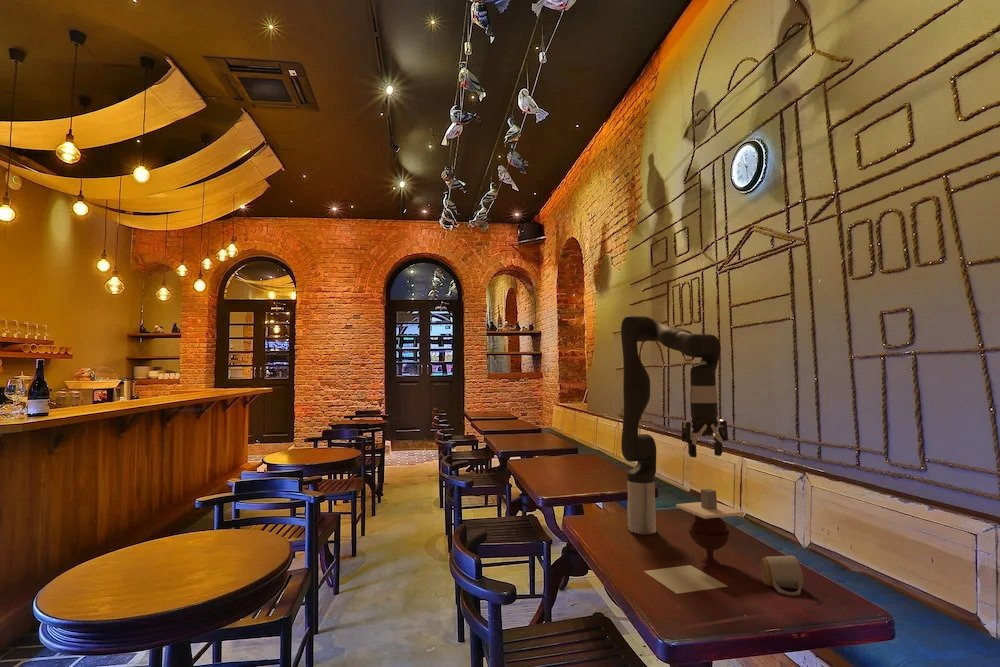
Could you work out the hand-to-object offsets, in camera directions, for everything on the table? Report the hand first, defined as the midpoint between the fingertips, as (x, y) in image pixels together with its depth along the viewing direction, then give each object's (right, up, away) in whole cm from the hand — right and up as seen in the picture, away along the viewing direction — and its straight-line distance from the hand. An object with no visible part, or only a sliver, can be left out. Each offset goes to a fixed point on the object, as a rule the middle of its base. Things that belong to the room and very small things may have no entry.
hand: (705, 456), depth 149 cm
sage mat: (-12, -29, -15) cm, 35 cm away
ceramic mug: (+12, -29, -21) cm, 38 cm away
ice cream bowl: (0, -30, -4) cm, 30 cm away
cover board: (0, -15, -3) cm, 15 cm away
